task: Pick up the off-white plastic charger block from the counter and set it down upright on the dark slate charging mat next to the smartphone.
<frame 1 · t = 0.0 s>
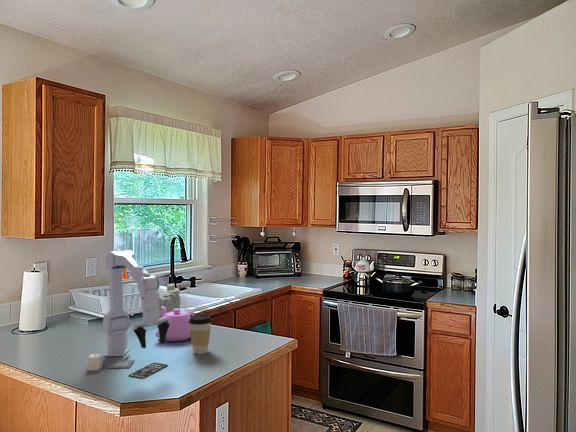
hand: (153, 345, 165), 11 cm above the counter, tool pointing down, fingers open, 7 cm apart
teapot: (167, 318, 248), on the counter
coffee cup: (200, 352, 191), on the counter
mat: (121, 364, 174), on the counter
cable: (126, 358, 182), on the counter
smartphone: (148, 372, 168), on the counter
teapot 2: (173, 337, 212), on the counter
charger: (95, 368, 170), on the counter
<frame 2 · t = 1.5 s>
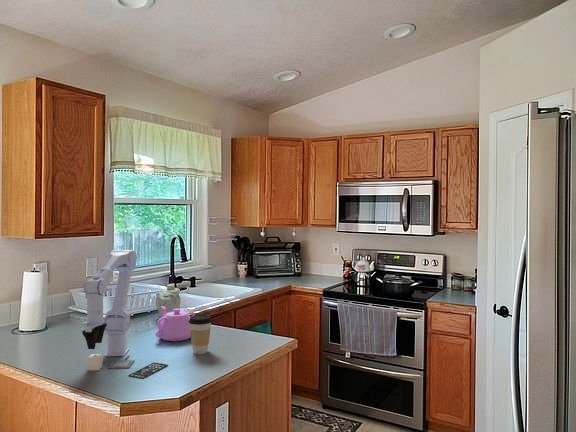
hand: (95, 345, 170), 9 cm above the counter, tool pointing down, fingers open, 7 cm apart
nothing on the counter moved.
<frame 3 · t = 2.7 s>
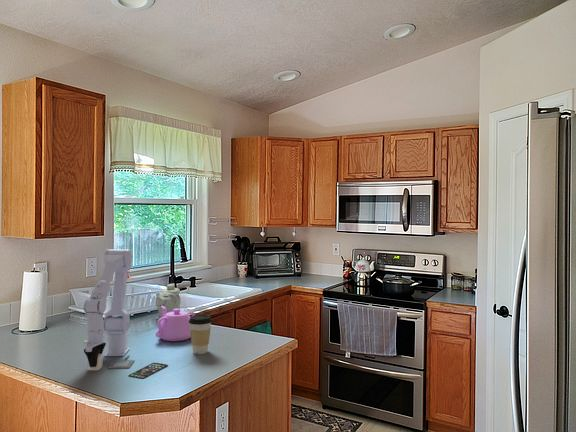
hand: (95, 364, 170), 1 cm above the counter, tool pointing down, fingers closed on charger, 4 cm apart
charger: (95, 368, 170), on the counter, touching gripper
everything else where it was.
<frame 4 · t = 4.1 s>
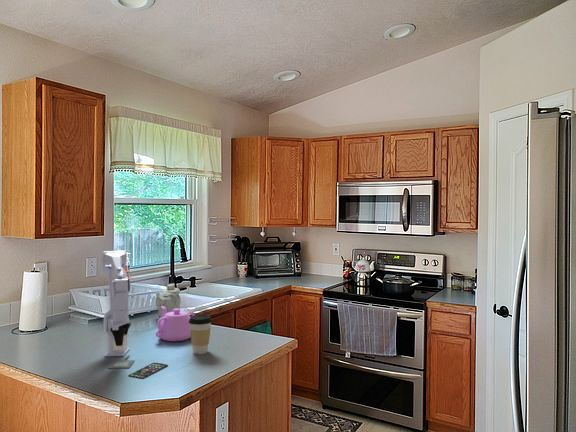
hand: (120, 343, 174), 8 cm above the counter, tool pointing down, fingers closed on charger, 4 cm apart
charger: (120, 348, 174), point 7 cm above the counter, touching gripper
everything else where it was.
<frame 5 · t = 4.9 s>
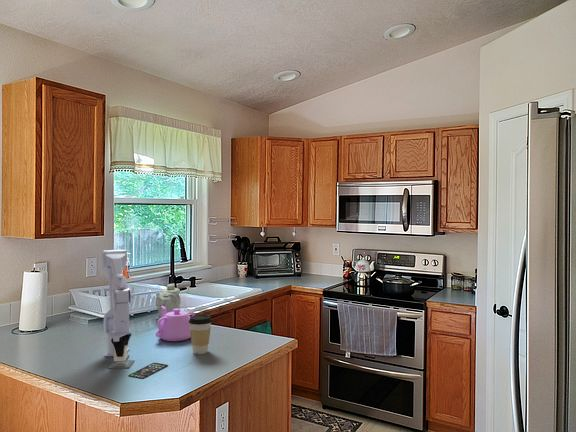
hand: (121, 354, 174), 4 cm above the counter, tool pointing down, fingers closed on charger, 4 cm apart
charger: (120, 359, 174), point 2 cm above the counter, touching gripper
everything else where it was.
when the fingers open (3 cm above the counter, at t = 5.6 s): charger stays where it is, resting on mat.
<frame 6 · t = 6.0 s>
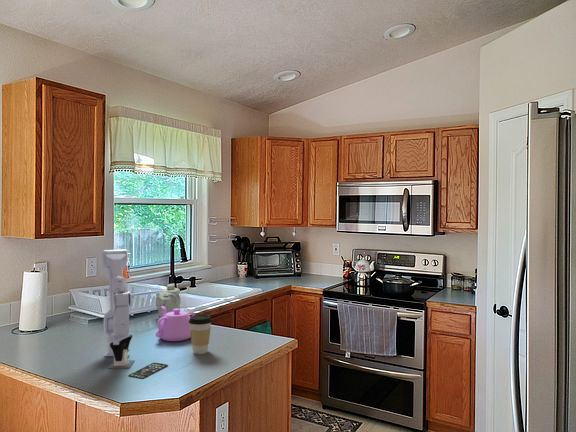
hand: (121, 357, 174), 3 cm above the counter, tool pointing down, fingers open, 7 cm apart
charger: (120, 363, 174), resting on mat
everything else where it was.
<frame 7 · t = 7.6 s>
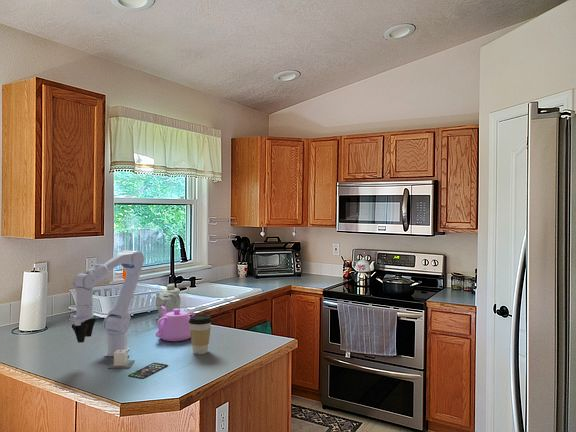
hand: (84, 339, 173), 10 cm above the counter, tool pointing down, fingers open, 7 cm apart
nothing on the counter moved.
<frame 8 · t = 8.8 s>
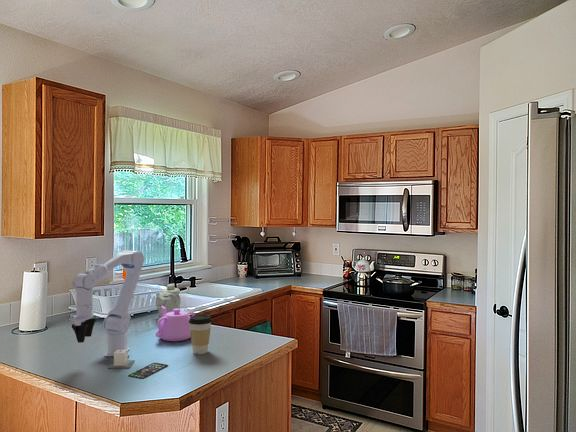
hand: (84, 339, 173), 10 cm above the counter, tool pointing down, fingers open, 7 cm apart
nothing on the counter moved.
at the end: charger inside the target area on the mat (0.3 cm from its centre), point 0.5 cm above the mat's base; charger tilted 0°; charger 14.2 cm from the smartphone (horizontally) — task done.
